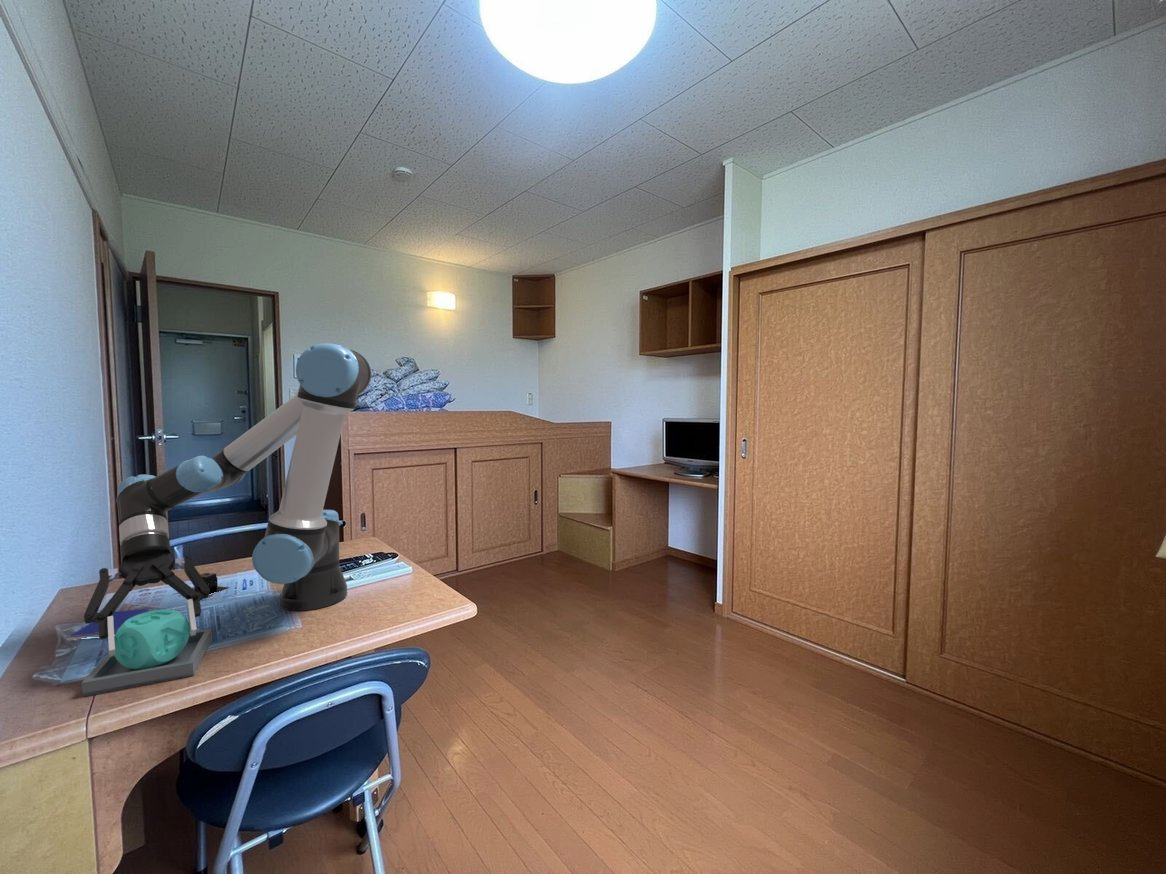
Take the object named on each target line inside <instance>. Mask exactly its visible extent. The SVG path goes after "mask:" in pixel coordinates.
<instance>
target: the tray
mask: <svg viewBox="0 0 1166 874" xmlns="http://www.w3.org/2000/svg"><path fill="white" fill-rule="evenodd" d="M212 631H213V630H212V628H207V629H201V630H196V635H194V636H191V635H189V639H188V642H187V644H186V646H185V647H184V649H183V650H182V651H181V652H180V653H179V654H178V655H177V656H176V657H175V658H174V659H172V660H170V661H168V662H166V663H163V664H161V665H157V666H154V667H150V668H144V669H130V668H127V667H125V666H123V665H121V664H120V663H119V662H118V661H117V659H116V658H115V656H112V657H109V652H108V653H107V654H106V655H105V656H104V657H103V658H102V660H101V661H100V662H99V663H98V664H97V665H96V667H95V668H94V669H92V671H91V672H90V673H89V674H88V675H87V676H86V677H85V678H84V680H83V681H82V682H81V697H82V698H84V697H85V698H87V697H90V696H96V695H100V694H101V695H102V694H106V693H113V692H117V691H123V690H127V689H132V688H136V687H137V688H138V687H142V686H148V685H154V684H159V683H164V682H169V681H174V680H179V679H184V678H185V679H186V678H189V677H194V676H195V674H196V671H197V670H198V668H199V666H200V664H201V662H202V660H203V659H204V657H205V655H204V654H206V653H205V652H207V651H206V650H208V649H207V648H209V647H210V645H209V644H211V643H212V641H213V633H212ZM211 640H212V641H211ZM210 642H211V643H210ZM208 646H209V647H208Z"/></svg>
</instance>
